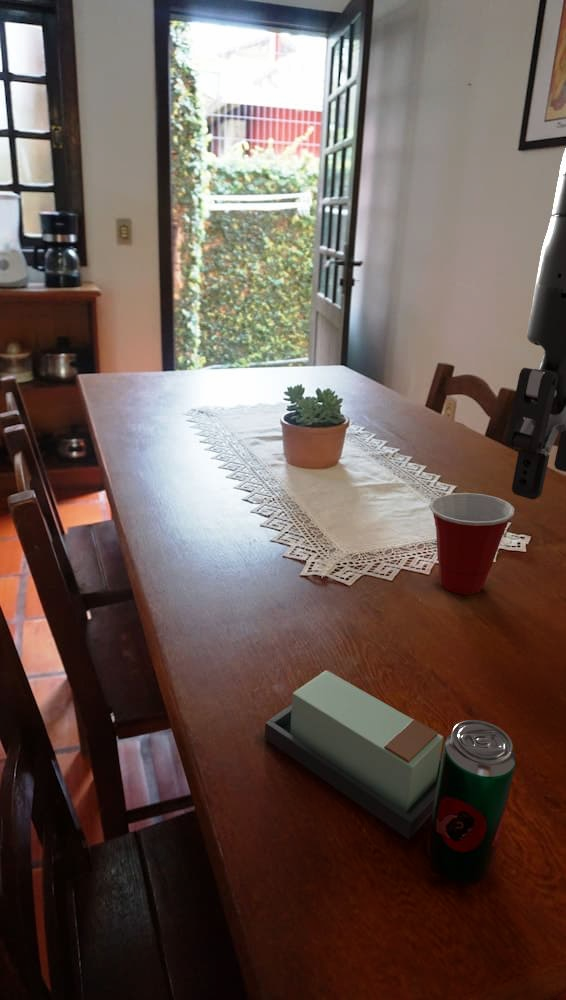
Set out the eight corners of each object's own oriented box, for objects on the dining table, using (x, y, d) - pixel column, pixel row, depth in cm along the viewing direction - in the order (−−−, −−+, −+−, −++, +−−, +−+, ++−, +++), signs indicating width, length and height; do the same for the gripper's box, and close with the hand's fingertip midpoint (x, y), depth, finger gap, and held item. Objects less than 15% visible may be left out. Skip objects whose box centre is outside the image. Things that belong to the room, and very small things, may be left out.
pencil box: (289, 735, 65) (292, 690, 63) (322, 710, 68) (326, 667, 66) (405, 813, 57) (412, 765, 55) (436, 780, 60) (444, 734, 58)
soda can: (501, 887, 51) (530, 765, 47) (435, 890, 51) (458, 767, 46) (478, 831, 56) (503, 715, 51) (418, 833, 56) (437, 716, 51)
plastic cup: (434, 558, 101) (445, 482, 96) (508, 579, 96) (523, 500, 91) (407, 588, 92) (418, 507, 88) (487, 613, 87) (502, 528, 83)
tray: (319, 698, 71) (320, 683, 70) (459, 784, 61) (462, 768, 60) (264, 738, 65) (265, 722, 64) (408, 840, 55) (411, 822, 54)
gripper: (575, 275, 59) (539, 453, 65) (499, 281, 49) (465, 491, 55) (669, 283, 54) (621, 475, 60) (606, 293, 44) (557, 520, 51)
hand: (547, 482), depth 58 cm, fingers open, 8 cm apart
